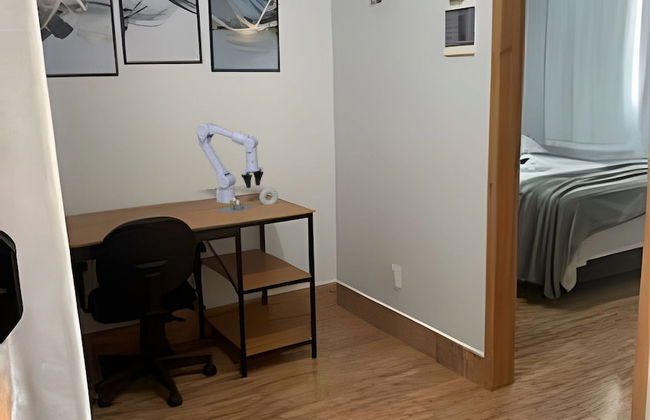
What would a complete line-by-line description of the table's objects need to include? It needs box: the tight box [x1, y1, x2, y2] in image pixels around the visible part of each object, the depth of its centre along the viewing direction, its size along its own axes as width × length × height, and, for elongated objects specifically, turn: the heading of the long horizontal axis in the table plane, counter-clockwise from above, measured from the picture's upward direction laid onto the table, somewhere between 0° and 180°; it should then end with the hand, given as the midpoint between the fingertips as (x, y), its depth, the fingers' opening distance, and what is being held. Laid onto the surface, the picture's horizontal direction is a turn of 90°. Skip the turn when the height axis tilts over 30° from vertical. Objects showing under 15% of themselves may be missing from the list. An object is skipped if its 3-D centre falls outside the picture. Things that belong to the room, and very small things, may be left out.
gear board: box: [214, 197, 255, 214], centre depth 314 cm, size 13×16×6 cm
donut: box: [258, 187, 279, 206], centre depth 323 cm, size 10×3×10 cm, turn 109°
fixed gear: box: [232, 202, 245, 211], centre depth 312 cm, size 5×5×3 cm
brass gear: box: [229, 198, 242, 208], centre depth 318 cm, size 6×6×4 cm
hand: (253, 186), depth 326 cm, fingers open, 7 cm apart
